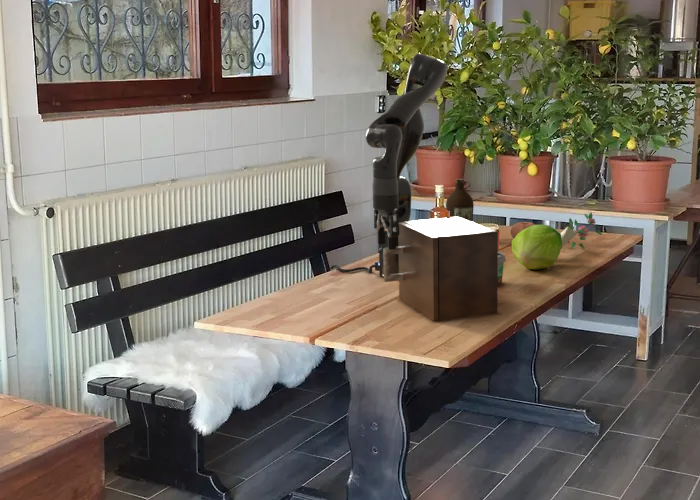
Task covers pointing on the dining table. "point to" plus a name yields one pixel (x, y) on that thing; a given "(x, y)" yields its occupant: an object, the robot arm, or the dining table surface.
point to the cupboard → (464, 266)
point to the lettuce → (537, 246)
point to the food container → (500, 268)
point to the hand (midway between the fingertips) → (386, 246)
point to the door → (416, 269)
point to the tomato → (519, 228)
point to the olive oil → (460, 202)
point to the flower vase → (582, 231)
